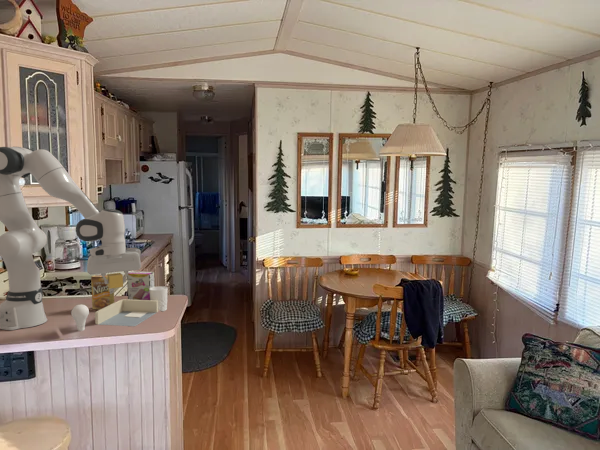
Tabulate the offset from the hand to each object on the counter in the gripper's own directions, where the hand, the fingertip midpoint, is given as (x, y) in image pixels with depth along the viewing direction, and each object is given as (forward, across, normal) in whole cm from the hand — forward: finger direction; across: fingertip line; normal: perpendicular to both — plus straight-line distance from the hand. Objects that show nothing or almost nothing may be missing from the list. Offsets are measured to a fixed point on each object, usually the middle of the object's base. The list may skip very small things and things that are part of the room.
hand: (115, 282), depth 184 cm
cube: (+2, 0, 0) cm, 2 cm away
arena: (+17, -5, -2) cm, 18 cm away
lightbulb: (+17, +14, +4) cm, 22 cm away
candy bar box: (+17, -14, -19) cm, 30 cm away
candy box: (+17, +1, -26) cm, 31 cm away
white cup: (+17, -20, -10) cm, 28 cm away
